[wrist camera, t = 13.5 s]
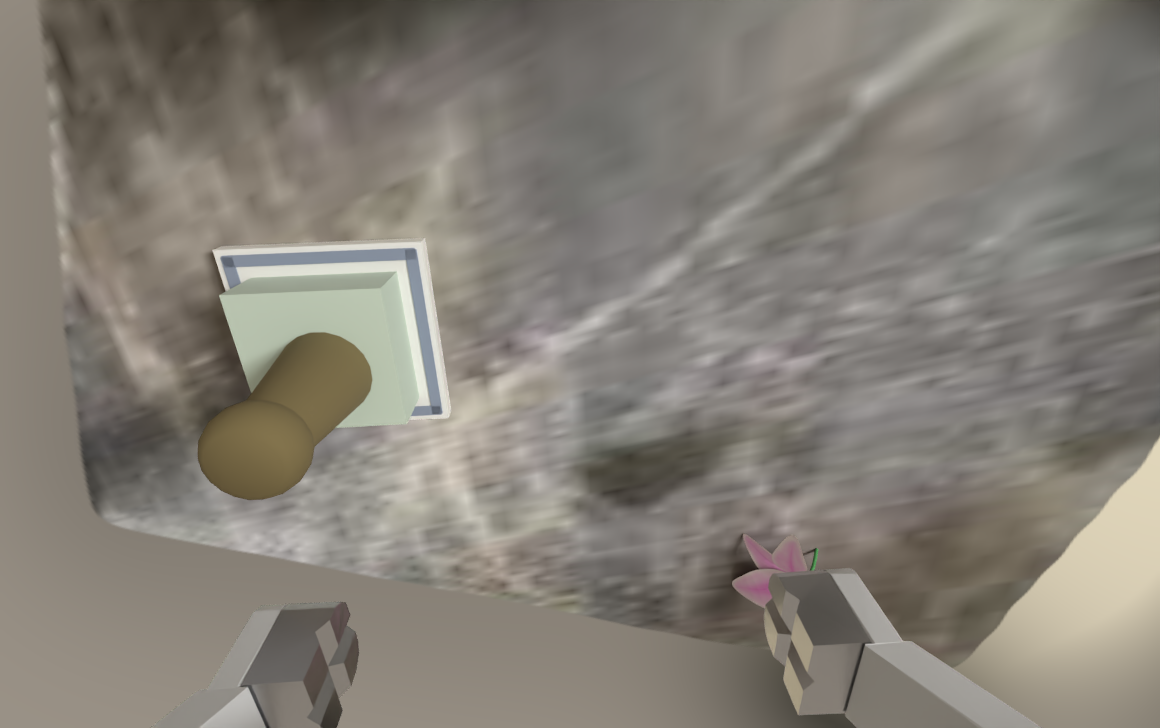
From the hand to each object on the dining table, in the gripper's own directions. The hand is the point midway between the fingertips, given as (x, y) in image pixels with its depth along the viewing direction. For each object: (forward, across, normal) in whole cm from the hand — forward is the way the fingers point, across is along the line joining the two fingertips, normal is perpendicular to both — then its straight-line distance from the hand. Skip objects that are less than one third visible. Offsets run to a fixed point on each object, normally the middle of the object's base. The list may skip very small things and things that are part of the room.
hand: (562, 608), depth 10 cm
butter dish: (+31, +16, +6) cm, 35 cm away
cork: (+26, +16, +7) cm, 31 cm away
